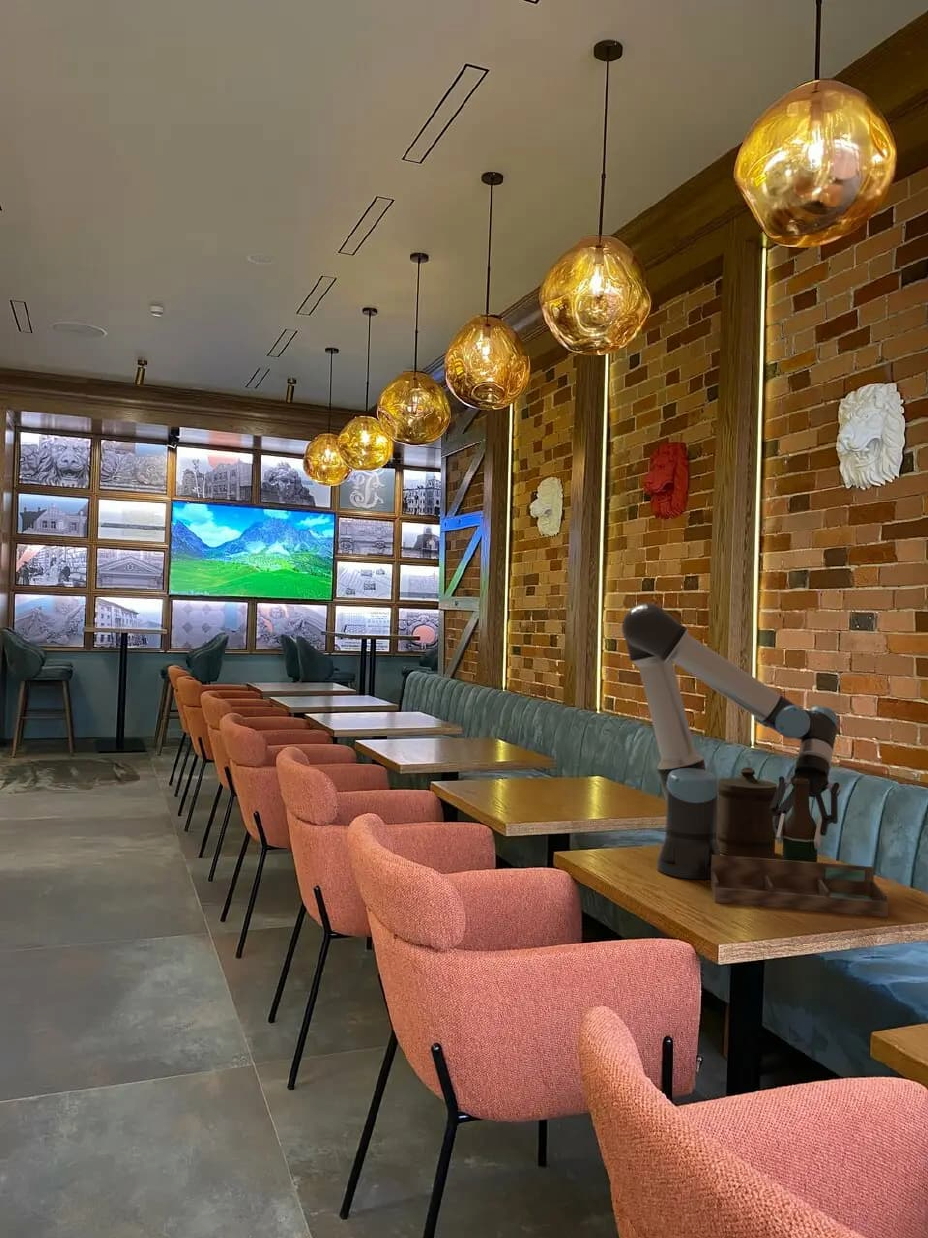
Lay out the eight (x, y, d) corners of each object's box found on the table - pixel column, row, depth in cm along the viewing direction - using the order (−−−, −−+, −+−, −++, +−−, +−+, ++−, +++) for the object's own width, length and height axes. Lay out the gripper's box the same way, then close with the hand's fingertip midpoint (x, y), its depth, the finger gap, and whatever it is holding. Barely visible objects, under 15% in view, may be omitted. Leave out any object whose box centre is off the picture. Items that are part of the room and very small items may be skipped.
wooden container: (787, 857, 238) (790, 771, 239) (740, 861, 233) (742, 772, 233) (749, 844, 252) (751, 762, 252) (703, 847, 247) (706, 764, 247)
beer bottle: (776, 879, 216) (779, 775, 216) (810, 880, 216) (813, 776, 216) (787, 888, 209) (789, 781, 209) (822, 890, 208) (825, 782, 208)
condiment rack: (714, 902, 196) (715, 869, 196) (710, 886, 209) (711, 854, 209) (887, 917, 189) (888, 882, 190) (872, 899, 202) (873, 867, 202)
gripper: (860, 777, 220) (847, 859, 206) (772, 768, 231) (754, 846, 217) (857, 757, 216) (843, 840, 202) (767, 748, 226) (748, 827, 212)
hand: (797, 843), depth 209 cm, fingers closed on beer bottle, 7 cm apart
